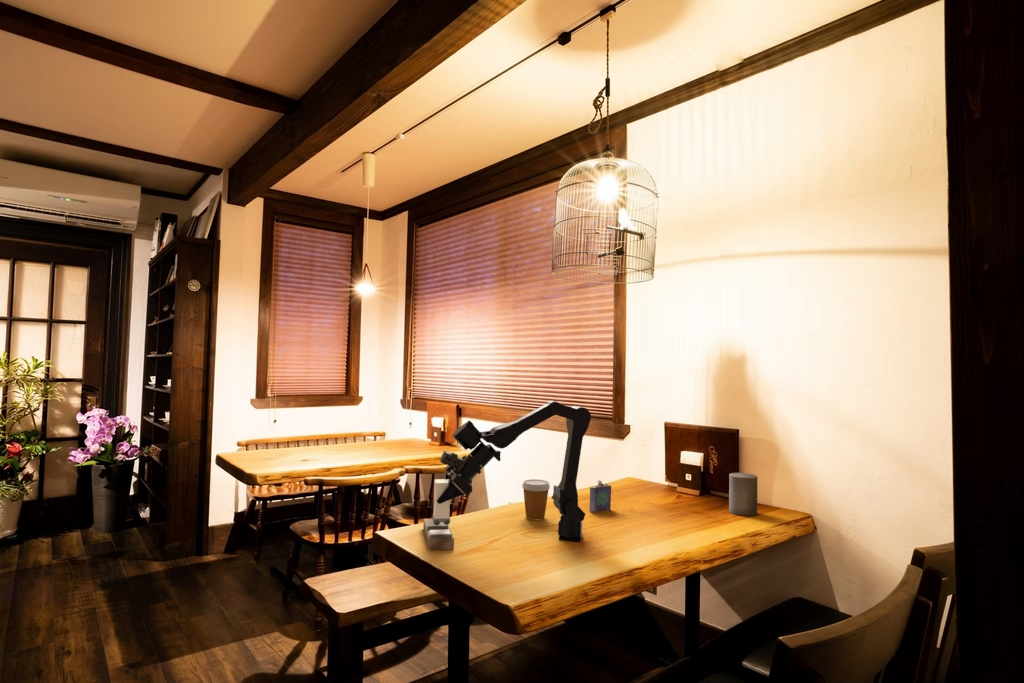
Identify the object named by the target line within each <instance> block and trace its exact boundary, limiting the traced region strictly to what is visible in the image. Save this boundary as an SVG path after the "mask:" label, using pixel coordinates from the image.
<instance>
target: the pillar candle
mask: <svg viewBox="0 0 1024 683" xmlns="http://www.w3.org/2000/svg"><path fill="white" fill-rule="evenodd" d="M728 476H729V477H728V478H729V481H728V482H729V483H728V484H729V485H728V486H729V487H728V488H729V489H728V495H729V496H728V512H729V513H730V514H733V515H737V516H743V517H745V516H746V517H755V516H758V475H756V474H752V473H745V471H743V472H731V473H729V474H728Z"/></svg>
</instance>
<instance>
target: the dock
mask: <svg viewBox="0 0 1024 683" xmlns="http://www.w3.org/2000/svg"><path fill="white" fill-rule="evenodd" d="M423 533H424V536H425V540H426V545H427V547H428V551H430V550H432V551H446V550H447V551H449V550H450V549H452V550H455V537H454V535H453V532H452V530H451V528H450V524H448V525H445V524H444V523H443V522H440V524H439V525H435V524H434V523H433V520H432V518H423ZM430 552H431V551H430Z"/></svg>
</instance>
